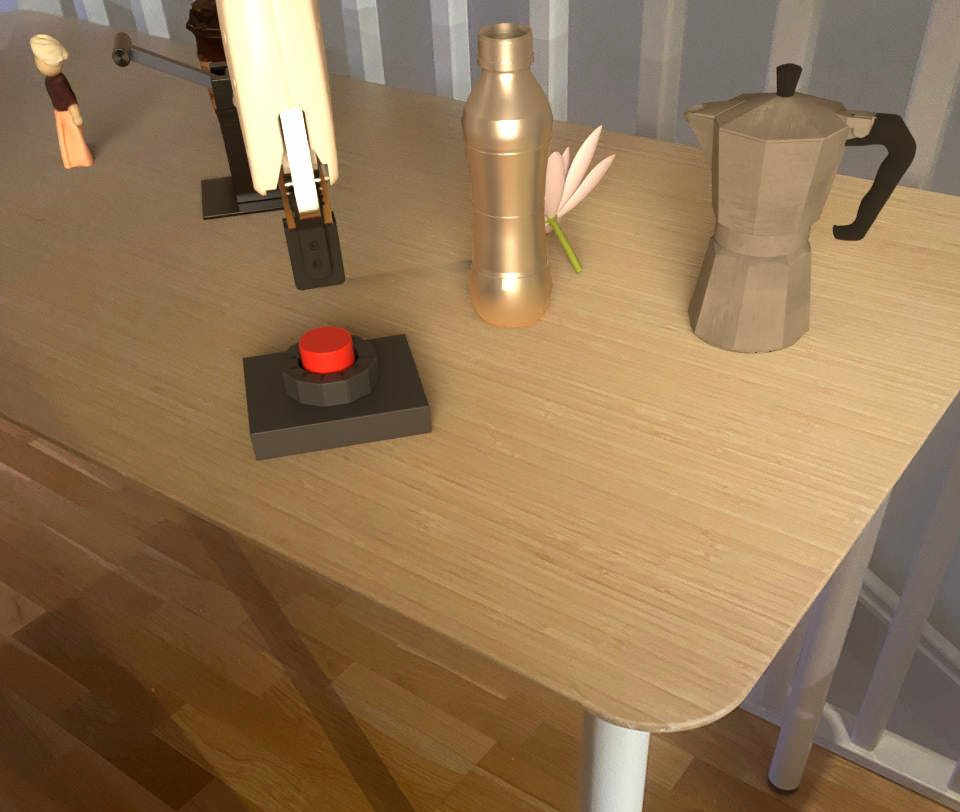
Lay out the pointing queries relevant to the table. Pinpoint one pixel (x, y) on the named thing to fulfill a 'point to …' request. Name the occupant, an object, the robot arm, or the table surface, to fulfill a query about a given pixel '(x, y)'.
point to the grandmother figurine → (62, 100)
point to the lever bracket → (233, 162)
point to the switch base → (334, 399)
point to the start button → (326, 350)
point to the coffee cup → (207, 36)
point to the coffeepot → (778, 205)
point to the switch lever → (157, 61)
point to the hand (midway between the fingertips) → (320, 281)
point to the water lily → (570, 187)
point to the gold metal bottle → (508, 179)
